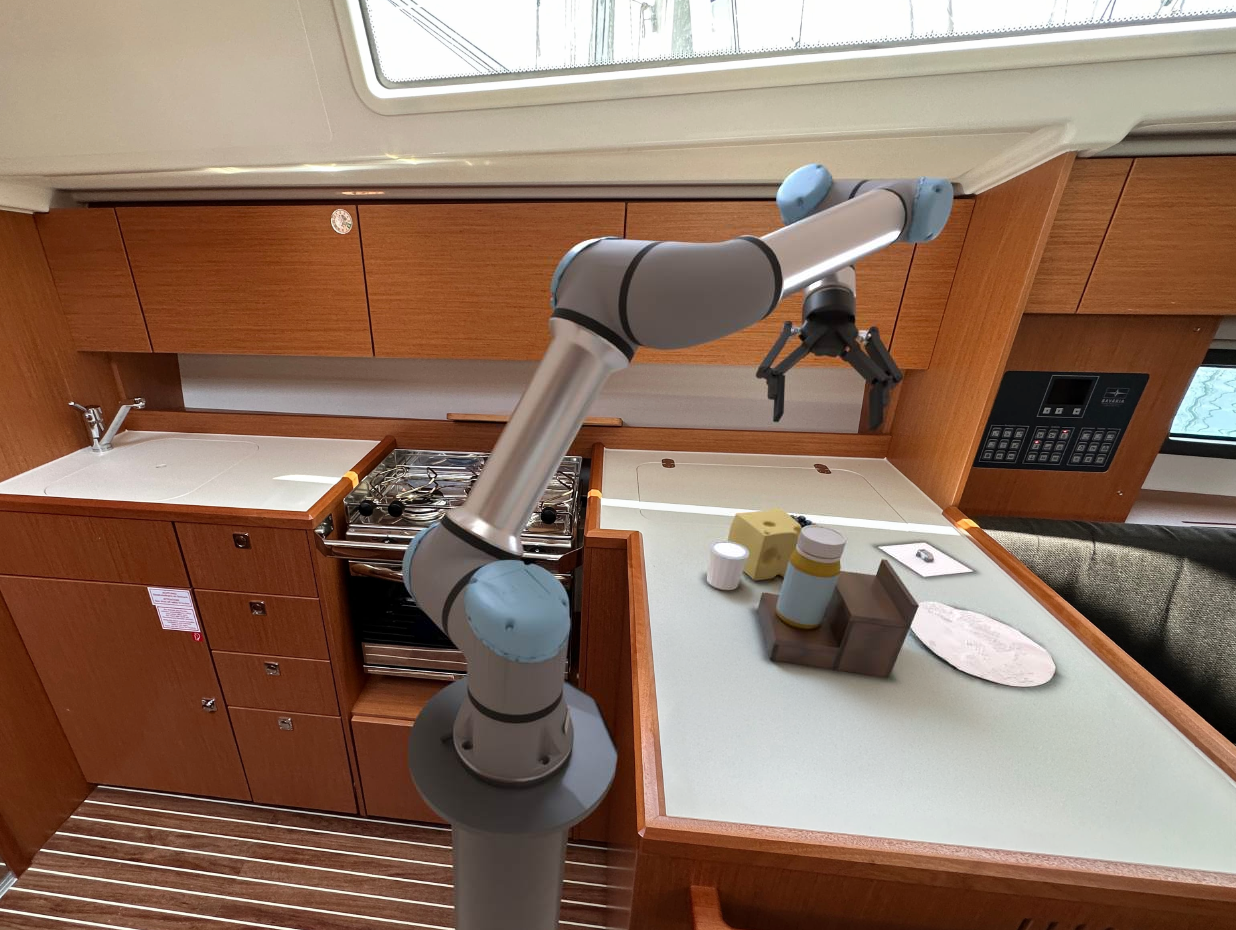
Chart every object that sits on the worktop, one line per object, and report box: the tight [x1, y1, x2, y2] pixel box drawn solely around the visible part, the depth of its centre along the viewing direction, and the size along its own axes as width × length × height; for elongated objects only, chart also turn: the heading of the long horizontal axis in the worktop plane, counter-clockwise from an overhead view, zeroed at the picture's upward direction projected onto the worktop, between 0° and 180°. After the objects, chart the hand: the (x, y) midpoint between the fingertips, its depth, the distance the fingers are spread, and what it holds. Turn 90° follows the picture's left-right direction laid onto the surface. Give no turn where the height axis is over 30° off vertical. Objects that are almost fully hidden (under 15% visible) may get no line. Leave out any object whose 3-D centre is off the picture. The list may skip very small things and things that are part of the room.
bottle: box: [776, 524, 847, 630], centre depth 89 cm, size 7×7×15 cm
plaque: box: [910, 601, 1056, 688], centre depth 95 cm, size 20×20×2 cm
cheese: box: [727, 507, 802, 582], centre depth 112 cm, size 10×11×10 cm
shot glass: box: [706, 540, 749, 591], centre depth 107 cm, size 7×7×7 cm
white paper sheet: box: [878, 542, 973, 578], centre depth 119 cm, size 12×12×2 cm
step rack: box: [756, 558, 919, 679], centre depth 91 cm, size 17×13×13 cm
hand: (826, 422), depth 86 cm, fingers open, 13 cm apart
